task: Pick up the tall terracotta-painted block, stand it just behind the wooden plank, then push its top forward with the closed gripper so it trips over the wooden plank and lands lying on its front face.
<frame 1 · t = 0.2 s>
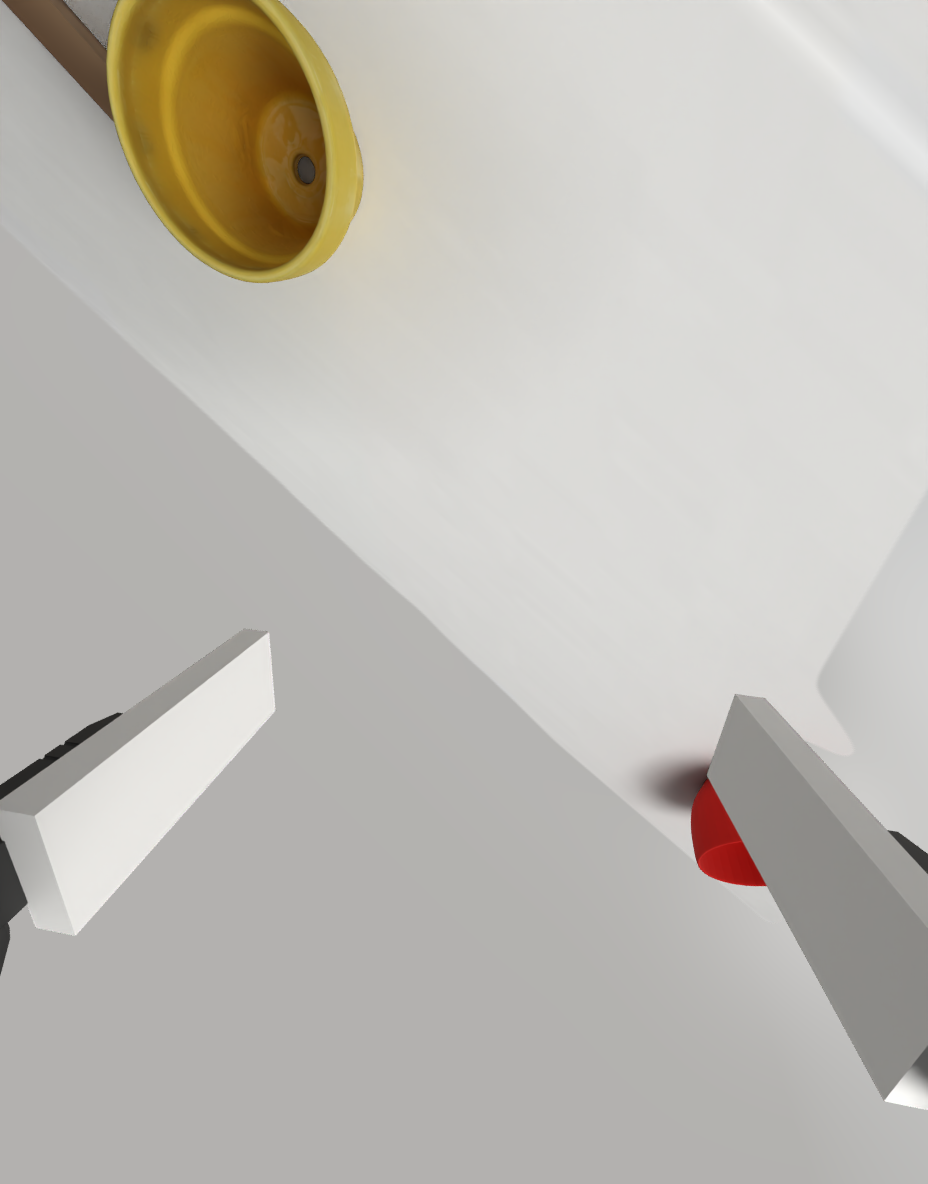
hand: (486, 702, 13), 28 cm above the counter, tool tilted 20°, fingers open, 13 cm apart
ceramic cup: (743, 780, 59), on the counter
plant pot: (313, 171, 27), on the counter
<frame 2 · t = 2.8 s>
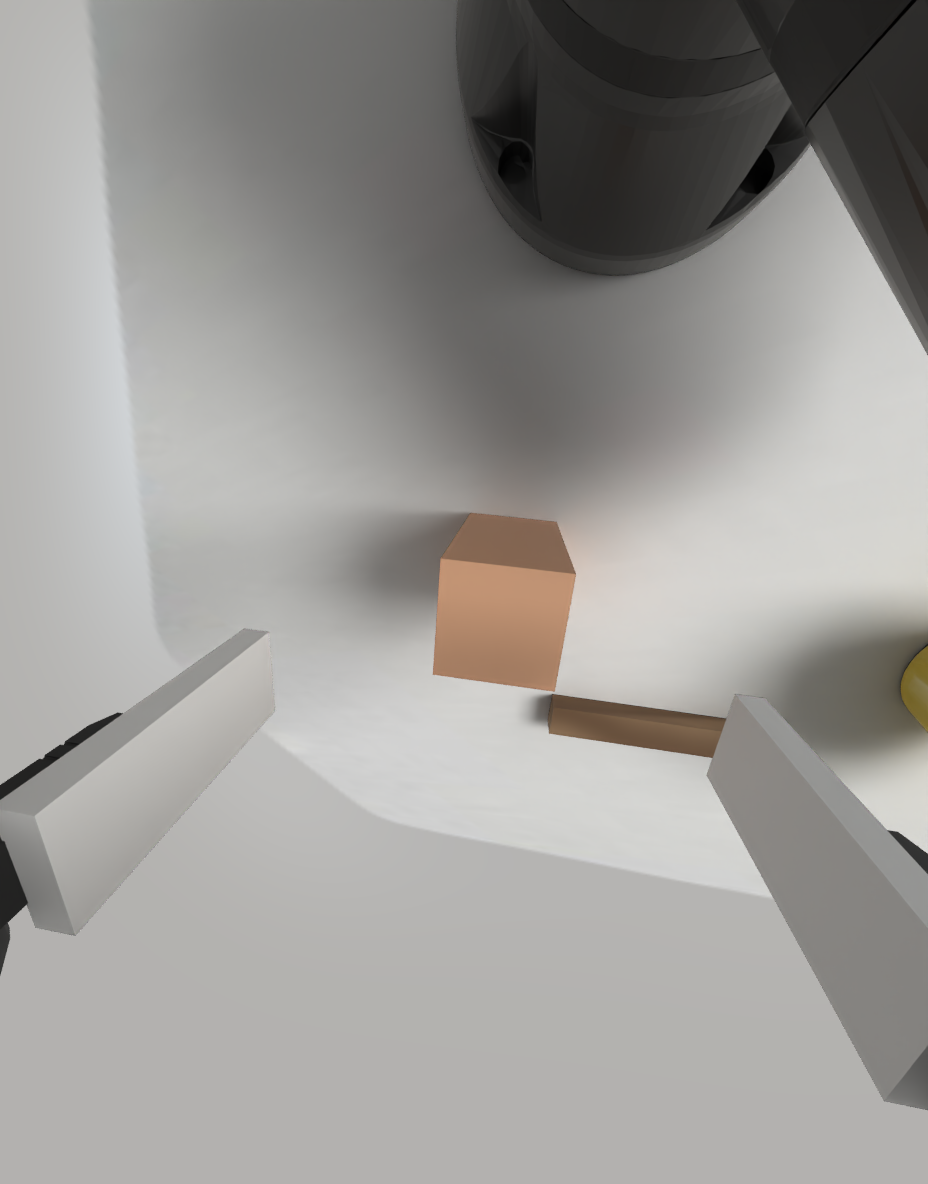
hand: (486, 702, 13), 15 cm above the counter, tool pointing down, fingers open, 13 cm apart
wooden plank: (657, 722, 29), on the counter
block: (508, 558, 26), on the counter
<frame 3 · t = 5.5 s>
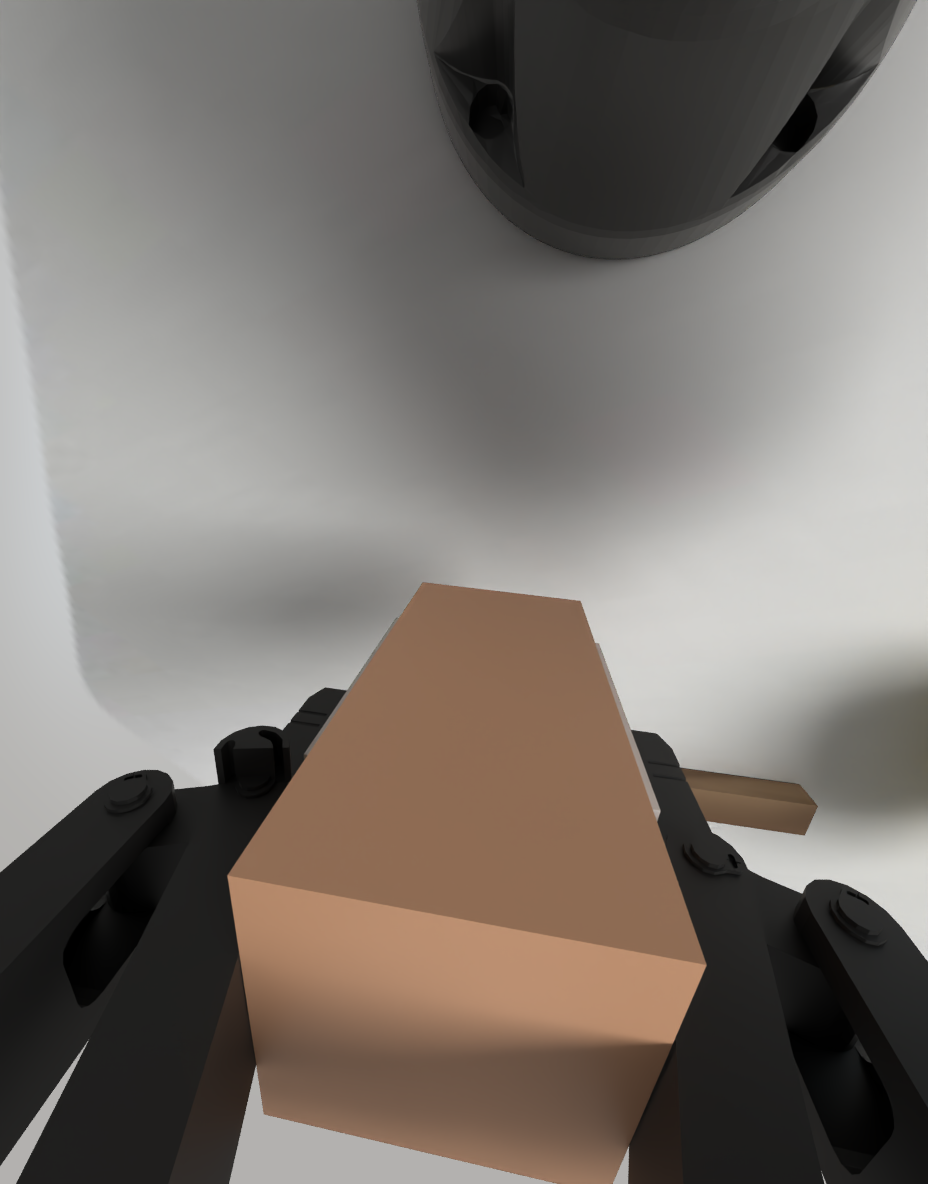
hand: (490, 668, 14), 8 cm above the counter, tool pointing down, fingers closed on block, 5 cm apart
wooden plank: (664, 780, 25), on the counter
block: (492, 661, 15), point 8 cm above the counter, touching gripper
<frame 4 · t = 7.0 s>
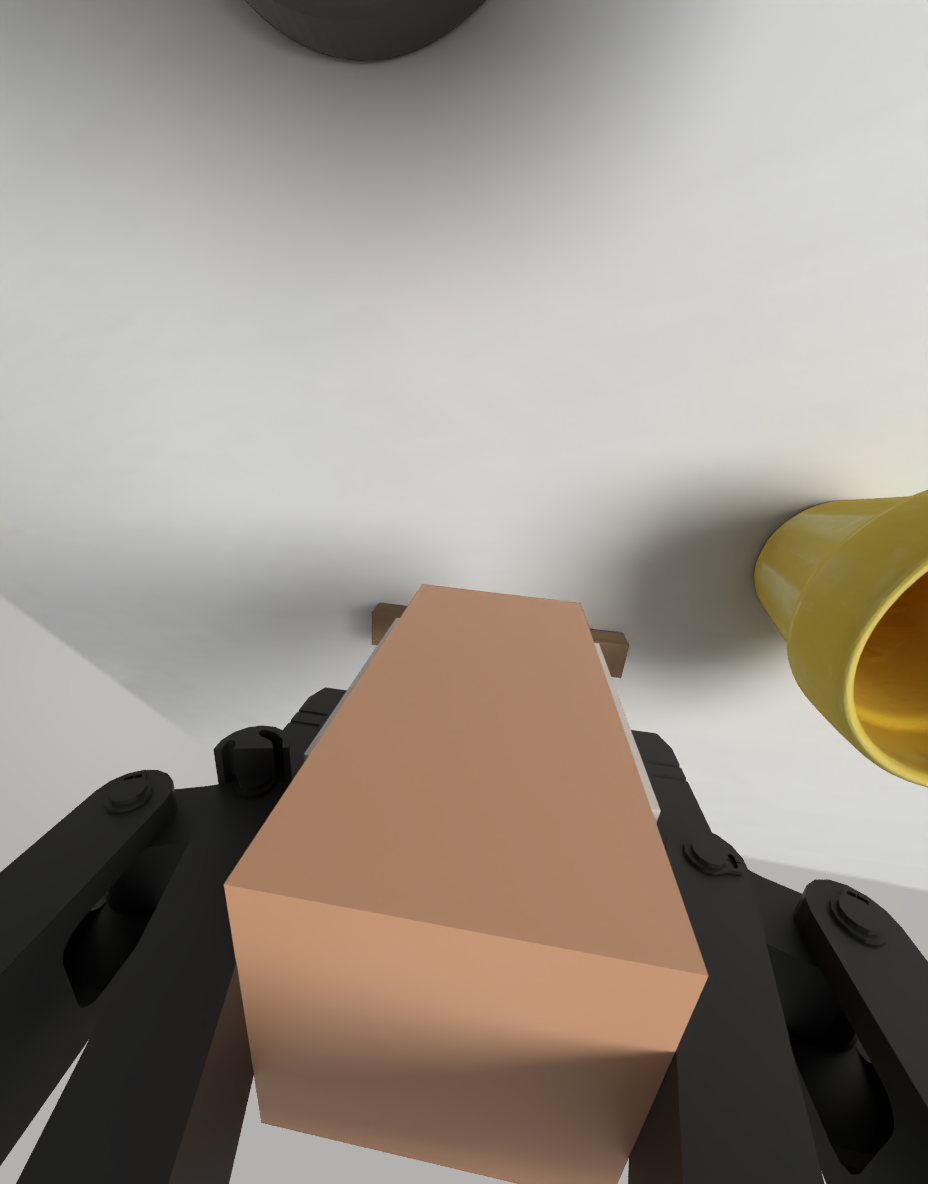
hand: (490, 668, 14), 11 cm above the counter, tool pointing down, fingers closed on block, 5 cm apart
wooden plank: (496, 633, 26), on the counter
block: (491, 663, 15), point 10 cm above the counter, touching gripper
plant pot: (822, 567, 22), on the counter
when the fingers open (1 cm above the counter, at t = 8.6 s): block stays where it is, on the counter.
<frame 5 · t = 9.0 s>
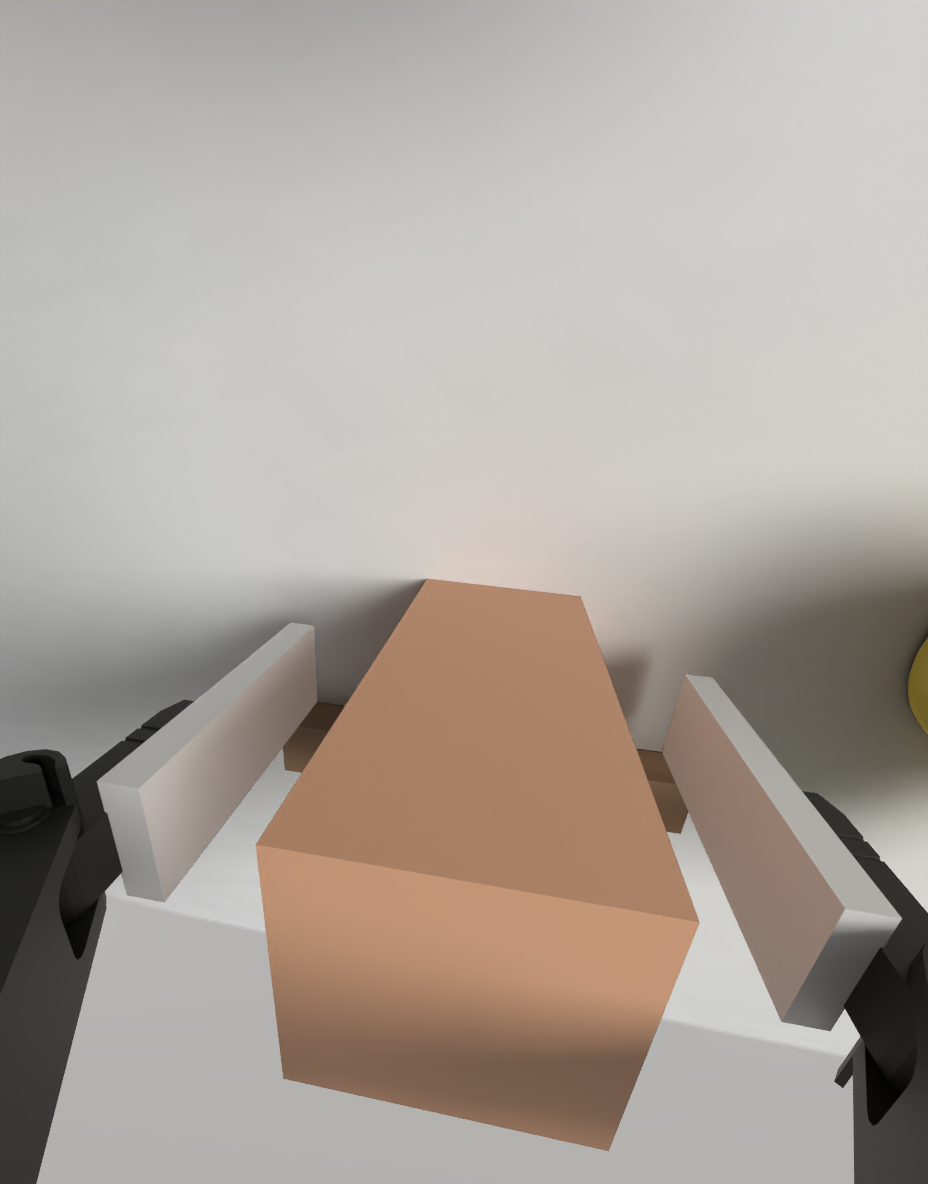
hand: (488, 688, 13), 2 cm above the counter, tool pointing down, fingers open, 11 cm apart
wooden plank: (481, 748, 16), on the counter
block: (494, 655, 15), on the counter
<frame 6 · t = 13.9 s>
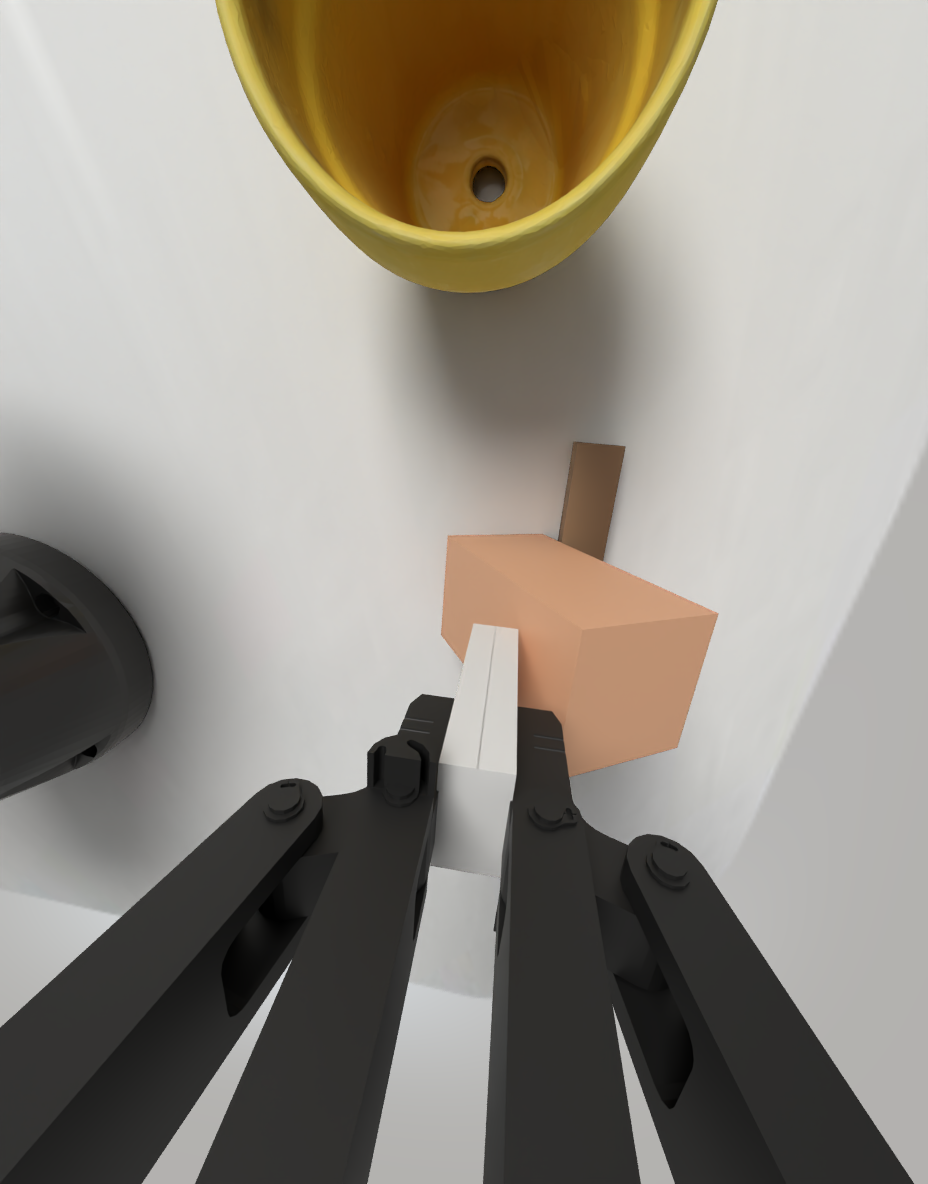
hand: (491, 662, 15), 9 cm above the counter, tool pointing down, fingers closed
wooden plank: (570, 586, 23), on the counter
block: (491, 584, 22), point 1 cm above the counter, tilted 29°, touching gripper, wooden plank
plant pot: (487, 194, 18), on the counter
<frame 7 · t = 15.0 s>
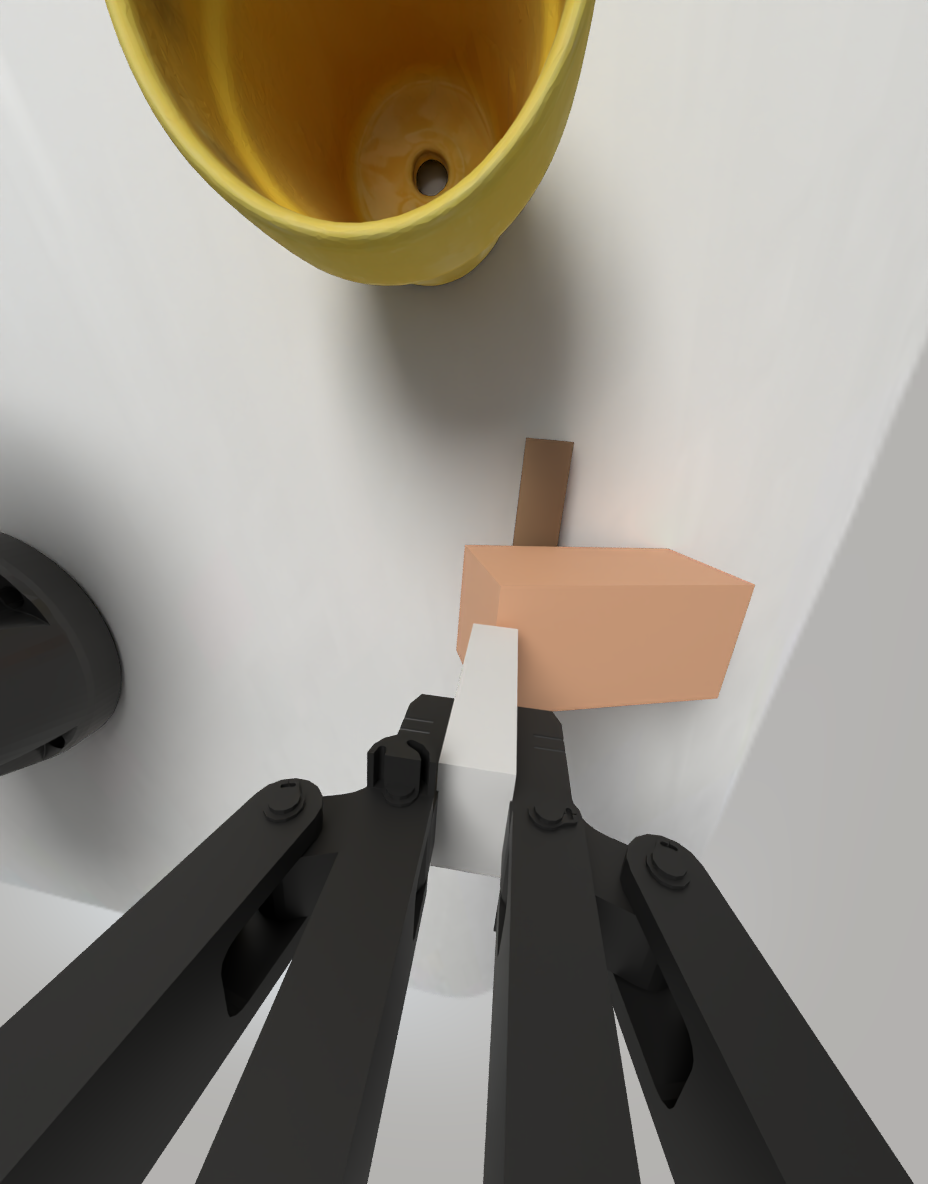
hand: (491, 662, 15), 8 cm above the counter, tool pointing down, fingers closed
wooden plank: (527, 584, 22), on the counter
block: (474, 623, 17), point 6 cm above the counter, tilted 111°, touching gripper
plant pot: (433, 188, 18), on the counter
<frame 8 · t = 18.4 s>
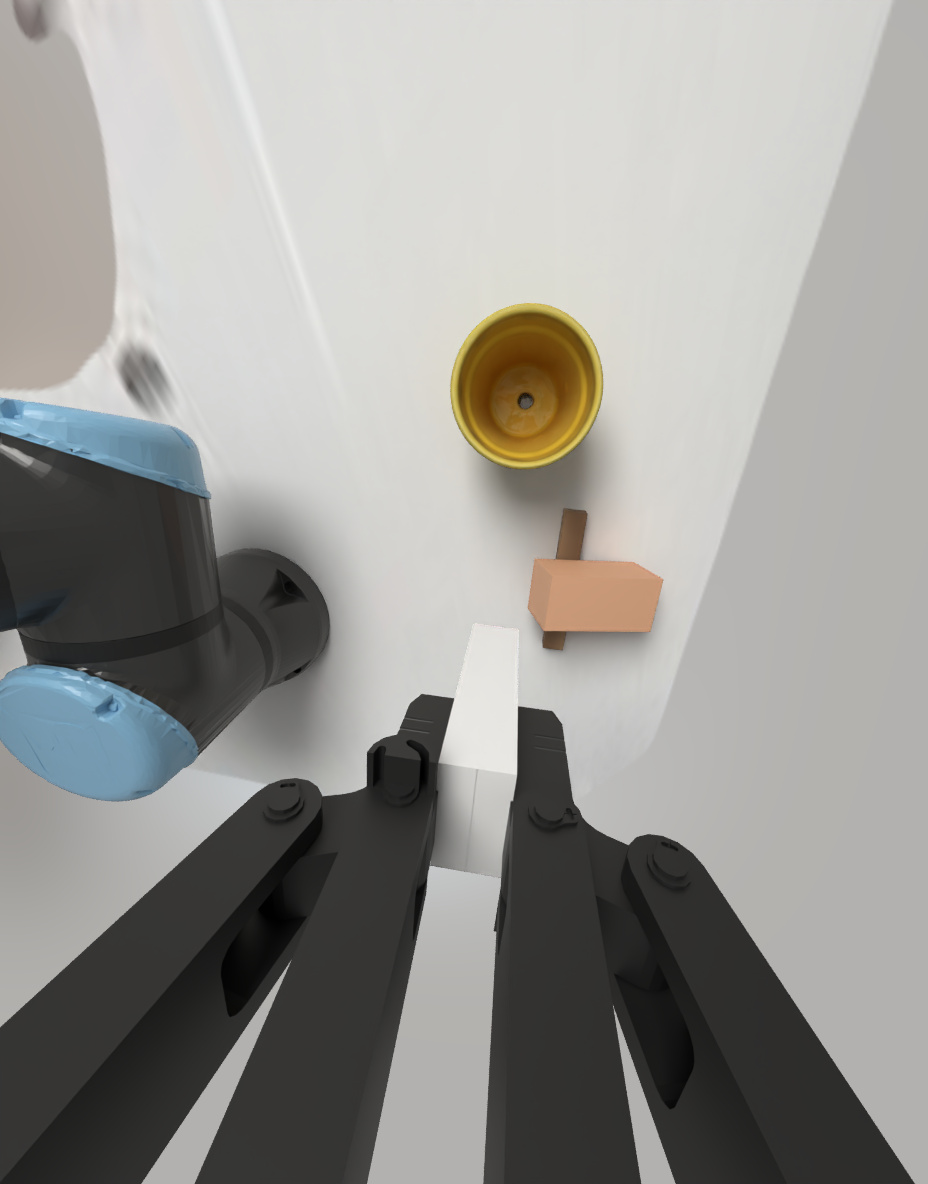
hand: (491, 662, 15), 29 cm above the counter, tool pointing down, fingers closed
wooden plank: (562, 579, 44), on the counter
block: (539, 593, 39), point 5 cm above the counter, tilted 105°, touching wooden plank
plant pot: (524, 401, 39), on the counter
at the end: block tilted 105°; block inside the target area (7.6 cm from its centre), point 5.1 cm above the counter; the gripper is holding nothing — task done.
